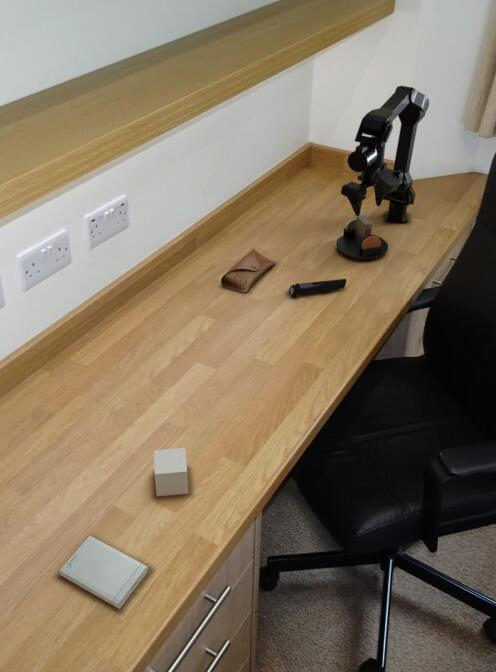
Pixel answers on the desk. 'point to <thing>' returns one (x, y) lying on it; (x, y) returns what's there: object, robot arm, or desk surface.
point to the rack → (361, 240)
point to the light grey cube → (170, 472)
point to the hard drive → (104, 571)
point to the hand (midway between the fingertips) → (367, 210)
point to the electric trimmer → (316, 287)
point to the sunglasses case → (246, 271)
